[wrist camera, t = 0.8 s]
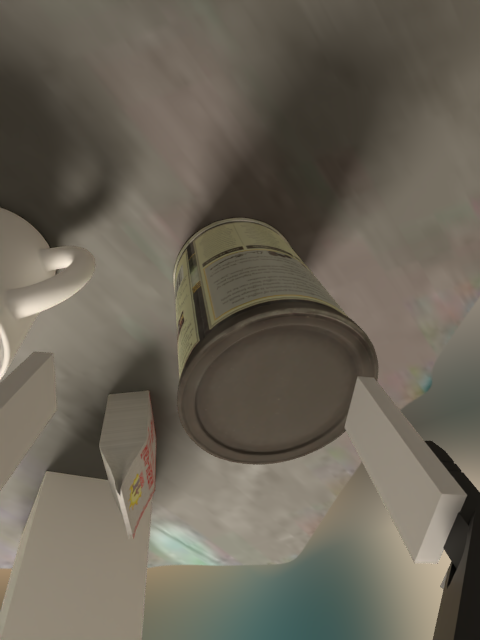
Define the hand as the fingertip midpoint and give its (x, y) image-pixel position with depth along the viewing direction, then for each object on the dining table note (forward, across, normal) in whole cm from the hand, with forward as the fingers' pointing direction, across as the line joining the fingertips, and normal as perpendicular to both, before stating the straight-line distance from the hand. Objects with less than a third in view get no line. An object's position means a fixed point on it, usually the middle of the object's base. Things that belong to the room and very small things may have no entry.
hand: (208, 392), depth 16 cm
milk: (+19, -12, -29) cm, 37 cm away
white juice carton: (+17, -6, -14) cm, 23 cm away
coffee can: (+16, +2, +1) cm, 16 cm away
